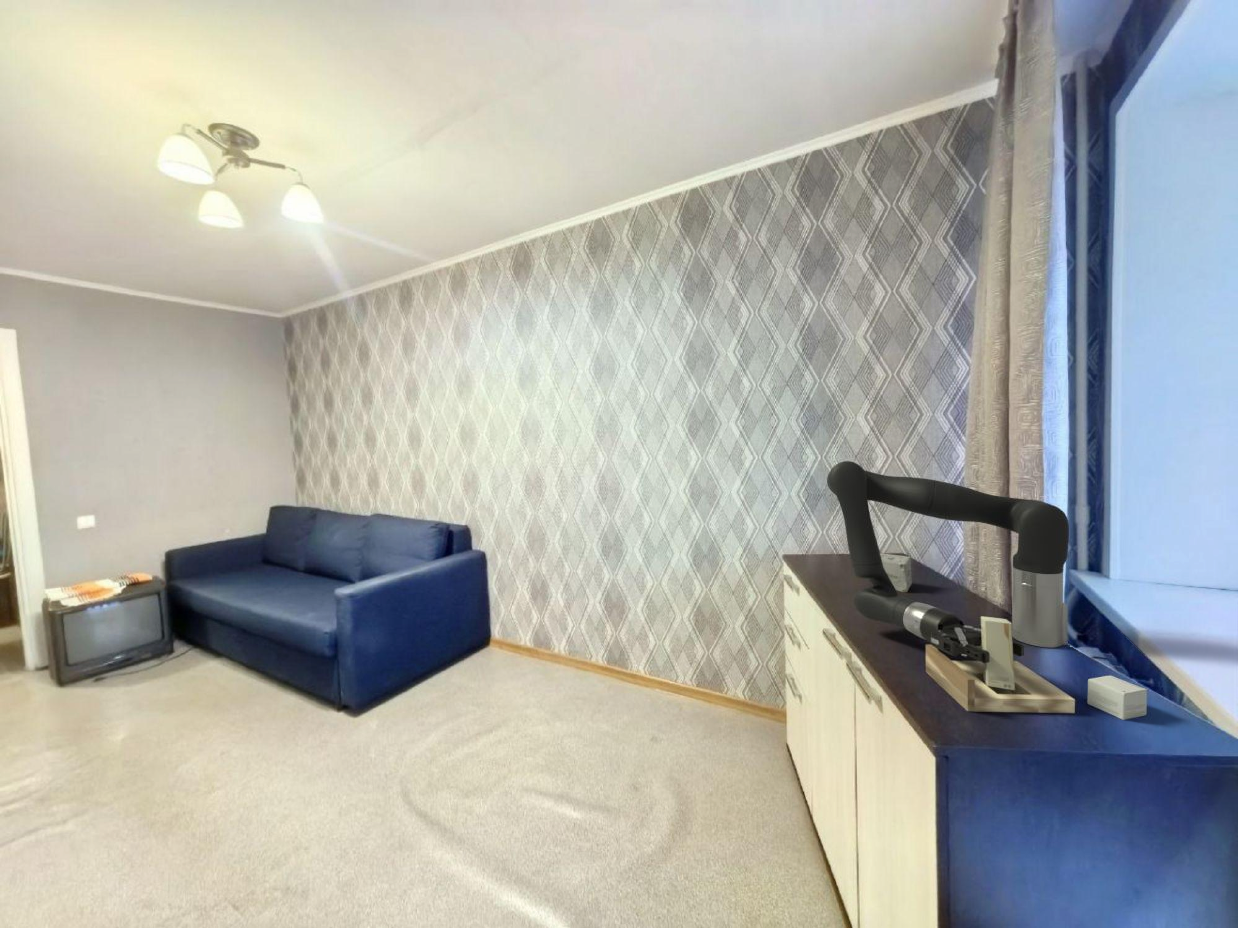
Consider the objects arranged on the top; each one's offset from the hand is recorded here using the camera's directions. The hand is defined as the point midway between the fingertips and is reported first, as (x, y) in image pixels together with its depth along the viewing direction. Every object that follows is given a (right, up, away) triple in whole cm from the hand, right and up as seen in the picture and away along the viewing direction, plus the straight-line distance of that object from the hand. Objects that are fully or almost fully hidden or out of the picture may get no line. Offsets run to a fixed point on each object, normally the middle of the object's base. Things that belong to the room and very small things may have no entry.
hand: (1005, 654), depth 95 cm
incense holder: (+15, -4, +66) cm, 68 cm away
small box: (+16, -8, -5) cm, 19 cm away
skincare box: (0, -6, +1) cm, 7 cm away
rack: (0, -8, +3) cm, 9 cm away
